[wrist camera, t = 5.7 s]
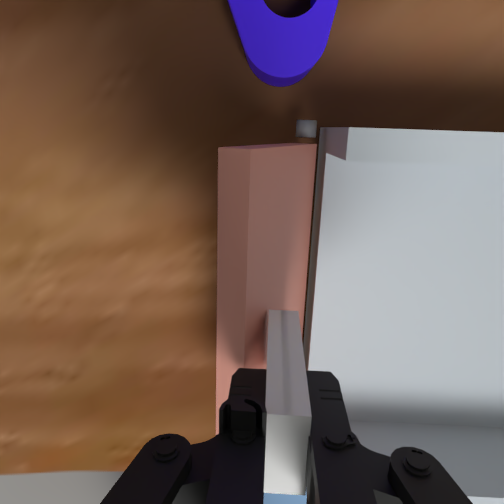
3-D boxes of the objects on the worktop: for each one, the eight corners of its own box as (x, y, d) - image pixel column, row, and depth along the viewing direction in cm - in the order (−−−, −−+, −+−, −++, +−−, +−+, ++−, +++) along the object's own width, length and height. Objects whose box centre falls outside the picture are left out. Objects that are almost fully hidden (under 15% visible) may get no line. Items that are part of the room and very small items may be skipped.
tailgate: (205, 515, 19) (238, 530, 18) (205, 146, 14) (250, 149, 13) (270, 411, 26) (295, 419, 25) (284, 142, 21) (316, 143, 20)
